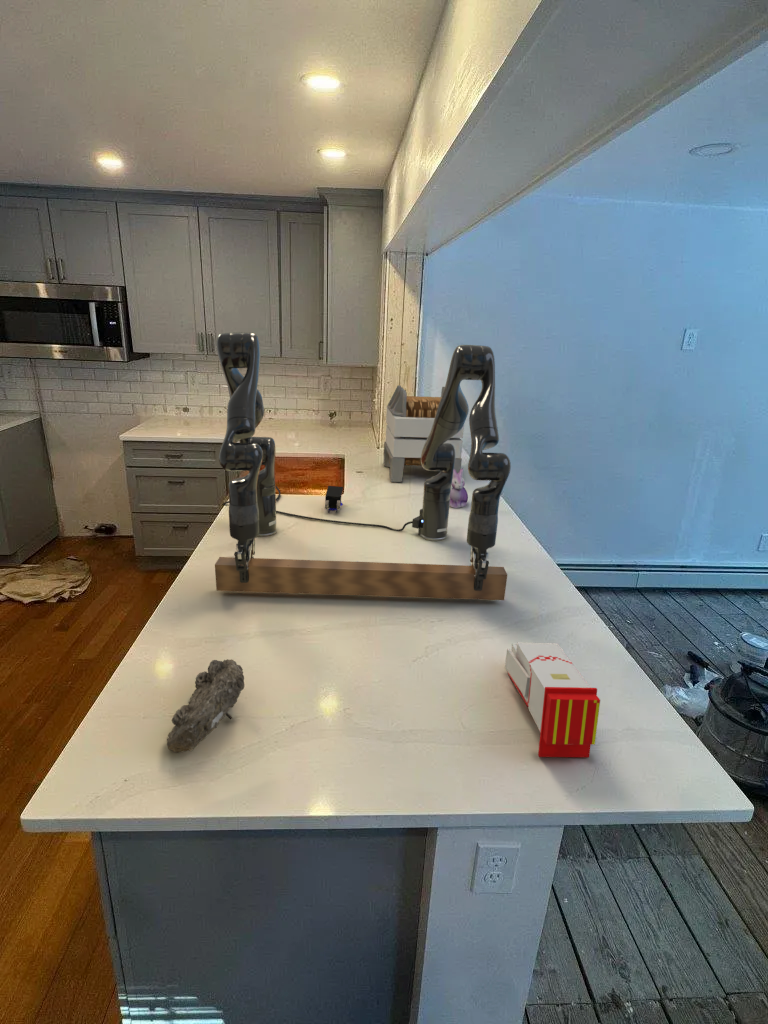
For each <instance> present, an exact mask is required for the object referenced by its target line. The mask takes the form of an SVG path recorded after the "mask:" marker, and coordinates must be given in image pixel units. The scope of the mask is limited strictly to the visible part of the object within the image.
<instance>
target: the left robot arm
mask: <svg viewBox="0 0 768 1024" xmlns="http://www.w3.org/2000/svg"><path fill="white" fill-rule="evenodd" d="M216 352H217V357H218V360H219V363H220V366H221V369H222V372H223V375H224V379H225V382H226V385H227V389H228V394H229V400H228V403H227V406H226V407H227V409H226V430H225V435H224V439H223V441H222V444H221V446H220V450H219V454H218V462H219V465H220V467H221V468H222V469H223V470H224V471H227V472H248V473H247V474H246V475H244V476H240V477H237V478H232V480H230V481H229V482H228V501H229V503H228V523H229V526H228V527H229V536H230V538H232V539H234V540H236V541H237V543H236V544H235V550H236V551H234V557H235V562H236V570H237V571H239V573H240V582H241V583H248V581H249V573H248V569H249V567H248V566H249V561H250V560H251V558H255V554H256V538H257V537H268V536H272V535H274V534H276V533H277V532H278V529H277V513H276V511H277V502H278V500H279V499H280V497H281V495H282V492H281V490H280V488H279V487H278V486H277V485H276V441H275V439H274V438H273V437H269V436H254V435H255V433H256V429H257V428H258V427H259V425H260V424H261V422H262V421H263V419H264V417H265V406H264V401H263V396H262V393H261V392H260V390H259V389H258V386H259V380H260V379H259V377H260V369H261V360H262V359H261V358H262V352H261V344H260V339H259V337H258V335H257V334H256V333H255V332H250V331H249V332H248V331H247V332H245V331H244V332H243V331H241V332H240V331H239V332H235V331H234V332H221V333H220V334H219V335H218V336H217V338H216ZM239 369H246V372H245V374H244V375H243V374H242V373H241V371H239ZM262 466H264V468H263V469H261V467H262ZM276 490H277V491H278V496H277V497H276V495H277V494H276ZM241 564H242V565H244V566H242V565H241Z"/></svg>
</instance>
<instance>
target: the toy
mask: <svg viewBox="0 0 768 1024" xmlns="http://www.w3.org/2000/svg"><path fill="white" fill-rule="evenodd" d="M504 668H505V670H506V671H507V675H508V676H509V678H510V680H511V682H512V683H513V685H514V687H515V688H516V690H517V691H518V693H519V695H520V697H521V698H522V700H523V702H524V703H525V705H526V707H527V708H528V711H529V713H530V715H531V717H532V719H533V721H534V723H535V725H536V727H537V729H538V731H539V743H538V753H537V755H538V757H539V758H590V753H591V746H593V745H595V744H596V738H597V729H598V722H599V713H600V706H601V699H600V698H599V696H598V688H597V687H591V686H590V684H589V683H588V682H587V680H586V679H585V678H584V676H583V675H582V674H581V672H580V671H579V669H578V668H577V667H576V666H575V664H574V663H573V661H572V660H571V659H570V658H569V657H568V655H567V654H566V653H565V651H564V649H563V648H562V647H561V646H560V645H559V643H556V642H555V643H554V642H516V643H511V648H507V649H506V654H505V662H504Z"/></svg>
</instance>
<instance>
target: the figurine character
mask: <svg viewBox="0 0 768 1024" xmlns="http://www.w3.org/2000/svg"><path fill="white" fill-rule="evenodd" d="M343 491H344V486H337V485H328V486H327V488H326V493H325V497H324V498H325V500H324V510H327V513H328V514H330V513H331V511H335V514H338V513H339V510H341V507H342V506H343V504H344V503H343V502H342V496H343Z"/></svg>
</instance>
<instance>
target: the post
mask: <svg viewBox="0 0 768 1024" xmlns="http://www.w3.org/2000/svg"><path fill="white" fill-rule="evenodd" d="M241 565H242V564H241ZM242 566H244V565H242ZM248 567H249V569H248V573H249V581H248V583H241V582H240V573H239V571H237V570H236V562H235V556H232V557H231V556H219V558H217V560H216V562H215V564H214V574H215V591H219V592H243V593H244V592H246V593H273V594H274V593H276V594H302V595H303V594H306V595H307V594H308V595H333V596H334V595H335V596H362V597H363V596H365V597H367V596H368V597H395V598H397V597H398V598H422V599H424V598H425V599H428V598H429V599H456V600H457V599H458V600H485V601H486V600H487V601H488V600H489V601H505V598H506V589H507V583H508V582H507V581H508V572H507V571H506V568H505V567H504V566H493V565H492V566H490V565H488V571H487V576H486V579H483V587H482V590H481V591H475V590H474V580H475V577H474V575H475V569H474V568H473V566H471V565H463V564H462V565H461V564H436V563H435V564H432V563H431V564H430V563H408V562H407V563H406V562H405V563H404V562H402V563H401V562H377V561H375V562H374V561H348V560H347V561H346V560H345V561H344V560H322V559H321V560H319V559H291V558H290V559H289V558H287V559H286V558H265V557H264V558H262V557H260V558H258V557H254V558H251V560H250V561H249V566H248ZM479 574H482V573H479Z"/></svg>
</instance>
